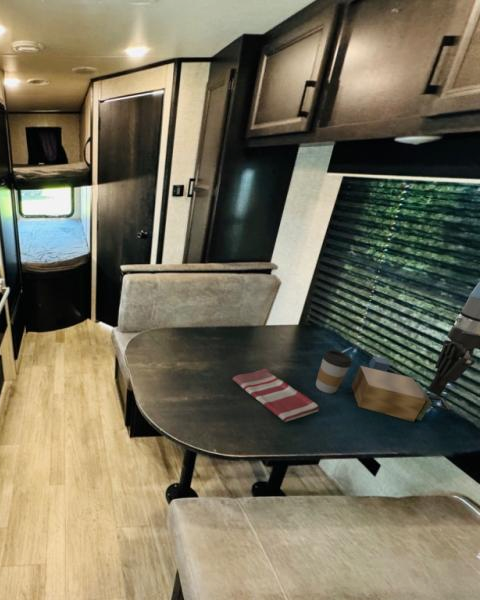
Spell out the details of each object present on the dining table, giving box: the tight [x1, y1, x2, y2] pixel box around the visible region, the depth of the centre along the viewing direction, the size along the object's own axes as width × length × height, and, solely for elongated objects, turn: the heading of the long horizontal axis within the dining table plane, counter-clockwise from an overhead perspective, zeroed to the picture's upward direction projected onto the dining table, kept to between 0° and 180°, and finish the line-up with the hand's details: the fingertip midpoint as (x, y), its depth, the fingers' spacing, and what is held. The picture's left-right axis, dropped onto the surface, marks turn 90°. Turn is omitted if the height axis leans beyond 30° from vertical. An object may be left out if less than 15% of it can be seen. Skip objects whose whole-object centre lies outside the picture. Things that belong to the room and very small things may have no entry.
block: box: [368, 355, 391, 372], centre depth 129 cm, size 5×5×5 cm
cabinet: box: [351, 365, 427, 422], centre depth 111 cm, size 15×13×10 cm
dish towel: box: [232, 367, 320, 423], centre depth 116 cm, size 17×23×3 cm
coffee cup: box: [315, 349, 353, 394], centre depth 117 cm, size 8×8×15 cm
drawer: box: [415, 381, 453, 421], centre depth 108 cm, size 20×11×8 cm, turn 61°
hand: (434, 391), depth 104 cm, fingers closed
